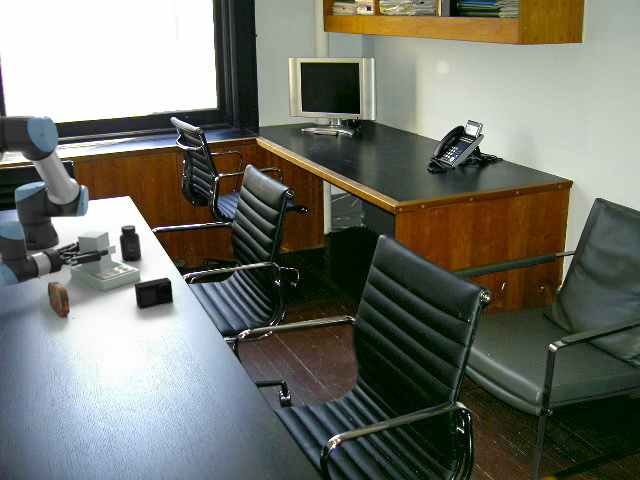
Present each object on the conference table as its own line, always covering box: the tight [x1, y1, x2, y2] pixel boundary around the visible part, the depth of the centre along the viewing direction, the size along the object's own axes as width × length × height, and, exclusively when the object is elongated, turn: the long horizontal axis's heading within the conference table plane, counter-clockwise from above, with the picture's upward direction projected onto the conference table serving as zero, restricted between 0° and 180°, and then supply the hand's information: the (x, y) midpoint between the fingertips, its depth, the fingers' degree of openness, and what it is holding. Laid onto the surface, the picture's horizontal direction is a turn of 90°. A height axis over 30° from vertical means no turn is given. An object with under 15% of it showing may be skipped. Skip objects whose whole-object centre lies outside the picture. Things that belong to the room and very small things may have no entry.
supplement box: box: [77, 229, 112, 273], centre depth 264 cm, size 7×7×13 cm
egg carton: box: [95, 265, 134, 281], centre depth 259 cm, size 6×11×4 cm, turn 137°
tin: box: [47, 281, 70, 317], centre depth 237 cm, size 15×3×8 cm, turn 33°
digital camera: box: [134, 277, 174, 310], centre depth 241 cm, size 10×5×7 cm, turn 118°
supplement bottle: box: [119, 224, 142, 263], centre depth 280 cm, size 7×7×12 cm
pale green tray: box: [69, 258, 142, 293], centre depth 263 cm, size 20×14×4 cm
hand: (106, 245), depth 267 cm, fingers closed on supplement box, 9 cm apart
